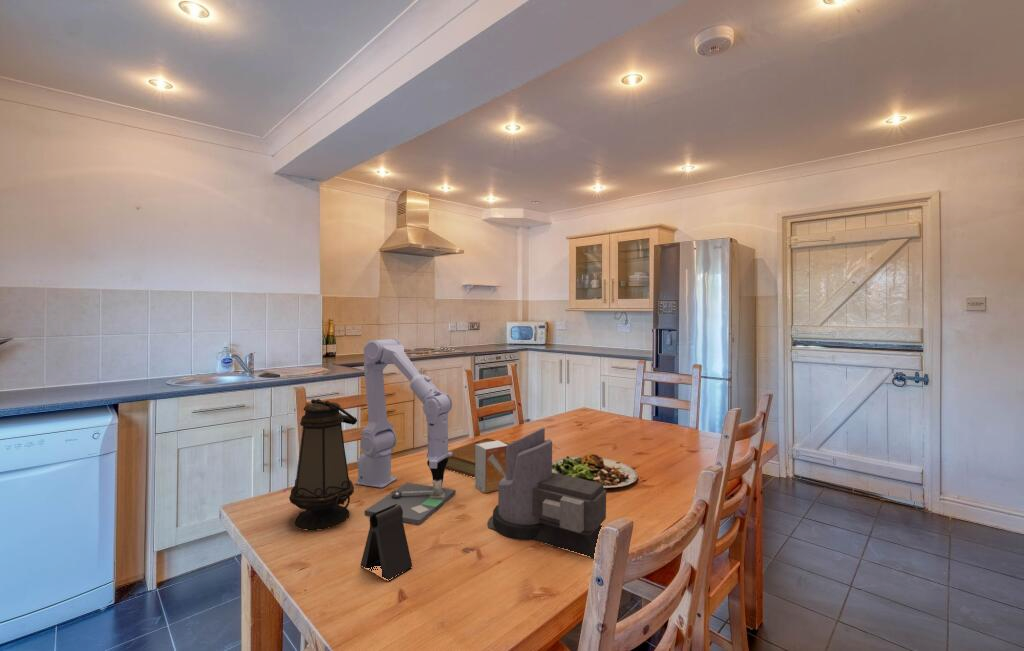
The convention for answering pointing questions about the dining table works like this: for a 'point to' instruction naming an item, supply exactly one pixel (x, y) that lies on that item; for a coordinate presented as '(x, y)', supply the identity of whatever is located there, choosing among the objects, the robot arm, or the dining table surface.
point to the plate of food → (596, 470)
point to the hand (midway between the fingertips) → (438, 485)
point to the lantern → (322, 468)
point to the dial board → (414, 503)
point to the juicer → (546, 500)
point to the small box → (490, 465)
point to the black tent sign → (387, 543)
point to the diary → (465, 458)
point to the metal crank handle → (436, 491)
